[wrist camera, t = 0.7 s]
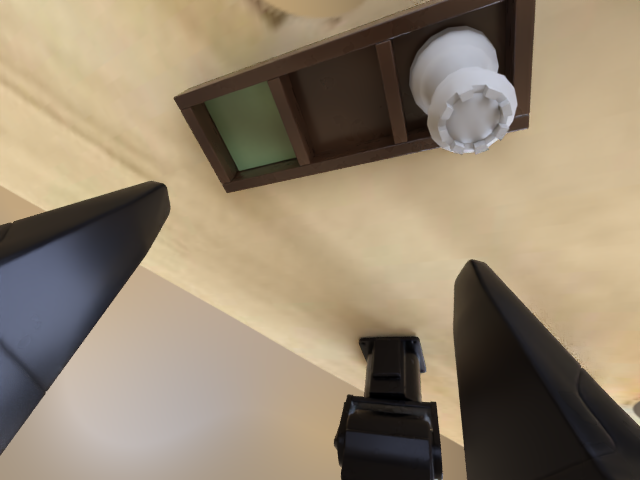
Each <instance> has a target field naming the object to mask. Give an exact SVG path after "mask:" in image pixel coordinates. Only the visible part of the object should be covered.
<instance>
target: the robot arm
mask: <svg viewBox="0 0 640 480" xmlns="http://www.w3.org/2000/svg"><path fill="white" fill-rule="evenodd" d="M169 213H170V201H169V196H168V190H167V187H166V185H164V184H163V183H159V182H155V181H148V182H145V183H141V184H138V185H135V186H131V187H128V188H125V189H121V190H118V191H115V192H111V193H108V194H104V195H101V196H98V197H94V198H91V199H88V200H84V201H81V202H78V203H74V204H71V205H67V206H64V207H61V208H57V209H54V210H51V211H47V212H44V213H41V214H37V215H34V216H30V217H27V218H24V219H20V220H17V221H14V222H13V223H7V224H3V225H0V455H1V454H2V453H3V451H4V450H5V448H6V447H7V446H8V444H9V443H10V442H11V440H12V439H13V437H14V436H15V435H16V433H17V432H18V431H19V429H20V428H21V426H22V425H23V424H24V422H25V421H26V420H27V418H28V417H29V416H30V414H31V413H32V411H33V410H34V409H35V407H36V406H37V404H38V403H39V402H40V400H41V399H42V398H43V396H44V395H45V393H46V392H45V391H47V390H48V389H49V388H50V386H51V385H52V384H53V382H54V381H55V379H56V378H57V376H58V375H59V374H60V373H61V371H62V370H63V368H64V367H65V366H66V364H67V363H68V362H69V360H70V359H71V357H72V356H73V355H74V353H75V352H76V351H77V349H78V348H79V346H80V345H81V344H82V342H83V341H84V339H85V338H86V337H87V335H88V334H89V333H90V331H91V330H92V329H93V327H94V326H95V324H96V323H97V322H98V320H99V319H100V318H101V316H102V315H103V314H104V312H105V311H106V309H107V308H108V307H109V305H110V304H111V302H112V301H113V300H114V298H115V297H116V296H117V294H118V293H119V292H120V290H121V289H122V287H123V286H124V284H125V283H126V282H127V281H128V279H129V278H130V276H131V275H132V274H133V272H134V271H135V270H136V268H137V267H138V265H139V264H140V263H141V261H142V260H143V258H144V257H145V256H146V254H147V252H148V251H149V249H150V248H151V246H152V244H153V242H154V240H155V239H156V237H157V235H158V233H159V232H160V230H161V228H162V226H163V224H164V223H165V221H166V219H167V217H168V215H169ZM453 335H454V347H455V357H456V367H457V378H458V388H459V399H460V409H461V419H462V430H463V440H464V450H465V461H466V471H467V480H640V426H639V425H638V424H637V423H636V422H635V421H634V420H633V419H632V418H631V417H630V416H629V415H628V414H627V413H626V412H625V411H624V410H623V409H622V408H621V407H620V406H619V405H618V404H617V403H616V402H615V401H614V400H613V399H612V398H611V397H610V396H609V395H608V394H607V393H606V392H605V391H604V390H603V389H602V388H601V387H600V386H599V385H598V383H597V382H596V381H595V380H594V379H593V378H592V377H591V376H590V375H589V374H588V373H587V372H586V371H585V369H583V368H581V365H580V364H579V363H578V362H577V361H576V360H575V359H574V358H573V357H572V356H571V354H570V353H569V352H568V351H567V350H566V349H565V348H564V347H563V346H562V345H561V344H560V343H559V342H558V340H557V339H556V338H555V337H554V336H553V335H552V334H551V333H550V332H549V331H548V330H547V329H546V328H545V326H544V325H543V324H542V323H541V322H540V321H539V320H538V319H537V318H536V317H535V316H534V315H533V314H532V312H531V311H530V310H529V309H528V308H527V307H526V306H525V305H524V304H523V303H522V302H521V301H520V300H519V298H518V297H517V296H516V295H515V294H514V293H513V292H512V291H511V290H510V289H509V288H508V287H507V286H506V284H505V283H504V282H503V281H502V280H501V279H500V278H499V277H498V276H497V275H496V274H495V273H494V272H493V270H492V269H491V268H490V267H489V266H488V265H487V264H486V263H484V262H481V261H477V260H473V259H472V260H469V261H468V262H467V263H466V264H465V266H464V267H463V269H462V270H461V272H460V274H459V275H458V277H457V278H456V281H455V285H454V318H453ZM359 345H360V347H361V350H362V352H363V354H364V357H365V359H366V362H367V368H366V380H365V392H364V397H361V396H353V395H347V399H346V402H344V407H343V412H342V417H341V421H340V425H339V428H338V431H337V434H336V436H335V439H334V446H335V448H336V449H337V451H338V460H339V465H340V466H341V467H342V470H341V480H443V475H442V474H443V473H442V457H441V444H440V434H439V424H438V415H437V405H436V402H422V401H421V381H420V373H425V372H426V365H425V361H424V357H423V353H422V348H421V344H420V340H419V338H418V337H414V336H412V337H377V338H360V339H359Z"/></svg>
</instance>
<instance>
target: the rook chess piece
mask: <svg viewBox="0 0 640 480" xmlns="http://www.w3.org/2000/svg"><path fill="white" fill-rule="evenodd" d="M498 67H499V65H498V60H497V55H496V50H495V48H494V47H493V44H492V43H491V42H490V41H489V39H488V38H487V37H486V36H485V35H484V33H483V32H481V31H479V30H476V29H474V28H471V27H468V26H459V27H449V28H446V29H444V30H443V31H441V32H439V33H437V34H435V35H433V36H431V37H430V38H429V39H428V40H427V41H426V43H425V44H424V45H423V46H422V47H421V48H420V49H419V50H418V51H417V54H416V56H415V58H414V61H413V63H412V65H411V68H410V79H409V86H410V89H411V92H412V95H413V98H414V100H415V103H416V104H417V105H418V106H419V107H420V108H421V109H422V110H423V111H424V112H425V113H426V114H428V120H427V126H428V129H429V132H430V134H431V137H432V139H433V140H434V141H435V142H436V143H437V144H438V145H439V146H440V147H441V148H443V149H446V150H448V151H451V152H454V153H459V154H461V155H462V154H463V153H473V152H475V154H478V153H481V152H484V151H487V150H489V149H488V147H489V146H490V145H491V144H493V143H494V142H495V141H496V140H498V139H499V140H502V138H503V137H504V136H505V134H506V133H507V131H508V130H509V128H508V127H509V126H510V125H511V123H512V122H513V119H514V115H515V111H516V107H517V99H516V94H515V89H514V87H513V86H512V85H511V83H510V82H509V81H508V80H507V79H506V77H505V76H504V75H501V74H498V73H497V72H498Z"/></svg>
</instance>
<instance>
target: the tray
mask: <svg viewBox="0 0 640 480" xmlns="http://www.w3.org/2000/svg"><path fill="white" fill-rule="evenodd" d="M535 2H536V0H431V1H429V2H426V3H423V4H420V5H418V6H415V7H412V8H409V9H406V10H404V11H401V12H398V13H395V14H393V15H390V16H387V17H384V18H382V19H379V20H376V21H373V22H371V23H368V24H365V25H362V26H360V27H357V28H354V29H351V30H349V31H346V32H343V33H340V34H338V35H335V36H332V37H329V38H327V39H324V40H321V41H318V42H316V43H313V44H310V45H307V46H305V47H302V48H299V49H296V50H294V51H291V52H288V53H285V54H283V55H280V56H277V57H274V58H272V59H269V60H266V61H263V62H261V63H258V64H255V65H252V66H250V67H247V68H244V69H241V70H239V71H236V72H233V73H230V74H227V75H225V76H222V77H219V78H216V79H214V80H211V81H208V82H205V83H203V84H200V85H197V86H194V87H192V88H189V89H188V90H186V91H184V92H182V93H181V94H179V95H177V96H175V97H174V100H175V102H176V103H177V105H178V107H179V109H180V110H181V112H182V114H183V116H184V118H185V119H186V121H187V123H188V125H189V127H190V128H191V130H192V132H193V134H194V135H195V137H196V139H197V141H198V143H199V144H200V146H201V148H202V150H203V151H204V153H205V155H206V157H207V159H208V160H209V162H210V164H211V166H212V168H213V169H214V171H215V173H216V175H217V176H218V178H219V180H220V182H221V183H222V185H223V187H224V189H225V191H226V192H227V193H230V192H235V191H239V190H244V189H248V188H253V187H258V186H262V185H267V184H272V183H276V182H281V181H286V180H290V179H295V178H300V177H304V176H309V175H314V174H318V173H323V172H328V171H332V170H337V169H342V168H346V167H351V166H356V165H360V164H365V163H369V162H374V161H379V160H383V159H388V158H393V157H397V156H402V155H407V154H411V153H416V152H421V151H425V150H430V149H435V148H439V147H440V146H439V145H438V144H437V143H436V142H435V141H434V140H433V139H432V137H431V134H430V132H429V129H428V126H427V120H428V114H426V113H425V112H424V111H423V110H422V109H421V108H420V107H419V106H418V105H417V104H416V103H415V100H414V98H413V95H412V92H411V89H410V86H409V79H410V68H411V65H412V63H413V61H414V58H415V56H416V54H417V51H418V50H419V49H420V48H421V47H422V46H423V45H424V44H425V43H426V41H427V40H428V39H429V38H430V37H431V36H433V35H435V34H437V33H439V32H441V31H443V30H444V29H446V28H449V27H459V26H468V27H471V28H474V29H476V30H479V31H481V32H483V33H484V35H485V36H486V37H487V38H488V39H489V41H490V42H491V43H492V44H493V47H494V48H495V50H496V55H497V60H498V65H499V67H498V72H497V73H498V74H501V75H504V76H505V77H506V79H507V80H508V81H509V82H510V83H511V85H512V86H513V87H514V89H515V94H516V99H517V107H516V111H515V115H514V119H513V122H512V123H511V125H510V126H509V127H508V128H509V130H508V131H507V133H509V132H514V131H518V130H523V129H527V128H528V127H529V113H530V96H531V77H532V58H533V40H534V21H535Z"/></svg>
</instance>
